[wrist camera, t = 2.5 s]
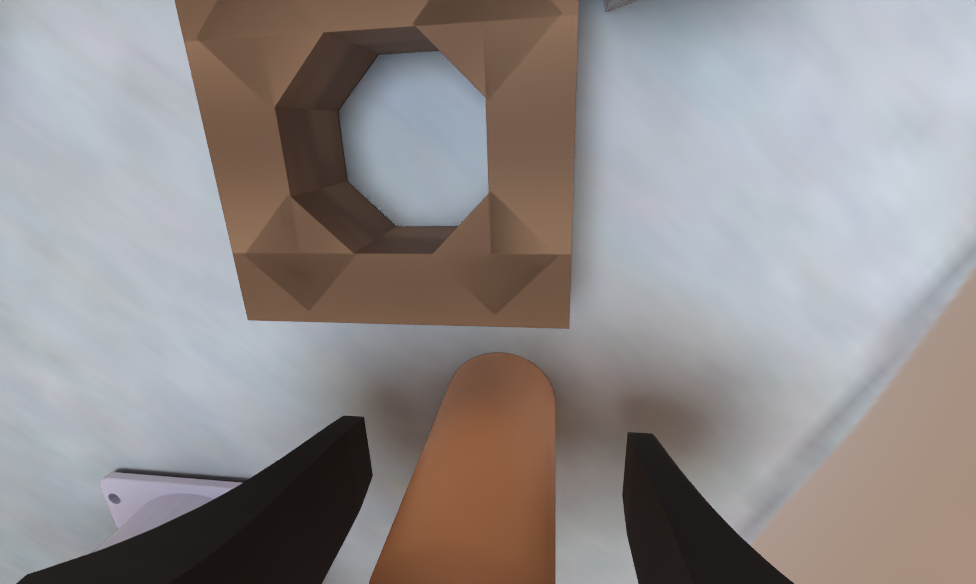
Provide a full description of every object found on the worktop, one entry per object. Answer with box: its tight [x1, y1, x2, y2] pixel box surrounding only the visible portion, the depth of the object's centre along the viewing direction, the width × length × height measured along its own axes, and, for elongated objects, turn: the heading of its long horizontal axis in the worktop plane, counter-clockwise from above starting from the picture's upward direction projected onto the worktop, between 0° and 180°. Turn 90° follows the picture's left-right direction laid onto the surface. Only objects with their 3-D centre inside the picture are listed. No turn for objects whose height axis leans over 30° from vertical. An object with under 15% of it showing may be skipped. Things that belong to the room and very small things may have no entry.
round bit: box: [369, 353, 555, 584], centre depth 12 cm, size 4×4×7 cm
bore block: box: [175, 0, 579, 329], centre depth 11 cm, size 8×8×3 cm
